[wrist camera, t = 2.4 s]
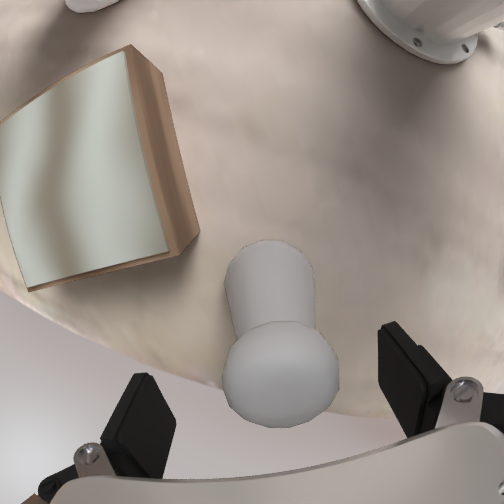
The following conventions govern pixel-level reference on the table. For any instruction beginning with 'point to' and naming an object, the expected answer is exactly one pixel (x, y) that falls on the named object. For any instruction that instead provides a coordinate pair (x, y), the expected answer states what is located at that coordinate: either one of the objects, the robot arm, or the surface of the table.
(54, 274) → the square box
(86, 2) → the cherub figurine
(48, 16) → the table surface
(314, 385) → the salt shaker
